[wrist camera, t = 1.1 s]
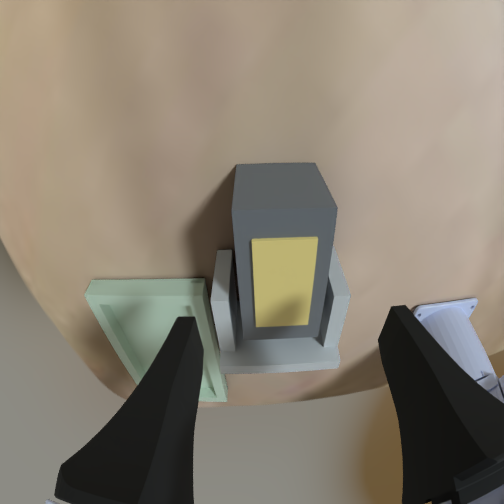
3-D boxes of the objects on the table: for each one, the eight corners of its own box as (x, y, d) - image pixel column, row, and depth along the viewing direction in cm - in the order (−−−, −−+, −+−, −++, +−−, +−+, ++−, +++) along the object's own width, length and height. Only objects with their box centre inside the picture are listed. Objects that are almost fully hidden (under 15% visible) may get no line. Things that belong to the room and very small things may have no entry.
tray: (227, 388, 33) (227, 401, 31) (148, 384, 33) (145, 397, 32) (204, 278, 23) (202, 295, 21) (91, 279, 23) (84, 295, 21)
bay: (324, 305, 25) (337, 368, 20) (225, 310, 25) (221, 373, 20) (333, 246, 21) (355, 310, 16) (217, 250, 21) (208, 317, 16)
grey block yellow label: (306, 278, 23) (318, 339, 18) (244, 280, 23) (243, 342, 18) (314, 162, 17) (338, 209, 13) (236, 164, 18) (231, 212, 13)
